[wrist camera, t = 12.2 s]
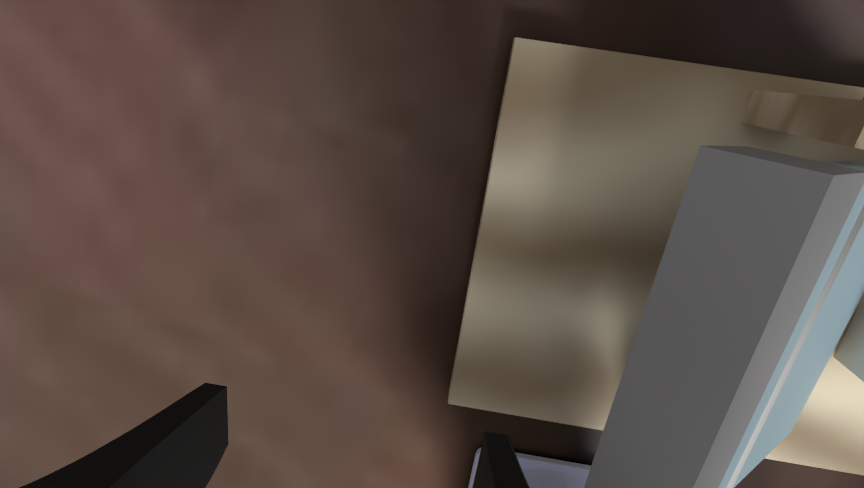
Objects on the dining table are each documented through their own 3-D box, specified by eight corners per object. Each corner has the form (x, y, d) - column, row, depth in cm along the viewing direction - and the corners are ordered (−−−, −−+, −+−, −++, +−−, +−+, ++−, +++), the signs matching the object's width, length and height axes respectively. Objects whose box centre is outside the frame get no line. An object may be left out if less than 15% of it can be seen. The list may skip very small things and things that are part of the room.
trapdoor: (723, 393, 24) (793, 433, 22) (583, 488, 17) (664, 561, 15) (831, 147, 20) (933, 166, 17) (700, 145, 13) (839, 176, 11)
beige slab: (880, 464, 24) (1023, 608, 18) (448, 390, 25) (439, 503, 19) (1094, 122, 18) (1431, 155, 12) (513, 38, 19) (531, 26, 12)
